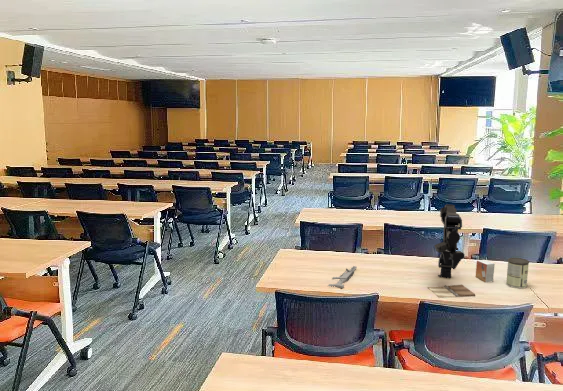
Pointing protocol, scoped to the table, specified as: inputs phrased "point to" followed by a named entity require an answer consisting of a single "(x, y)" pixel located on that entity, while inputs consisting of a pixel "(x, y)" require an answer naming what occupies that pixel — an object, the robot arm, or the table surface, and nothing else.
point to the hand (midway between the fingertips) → (449, 266)
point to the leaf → (460, 290)
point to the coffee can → (517, 272)
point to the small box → (485, 270)
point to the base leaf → (443, 292)
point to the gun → (344, 277)
